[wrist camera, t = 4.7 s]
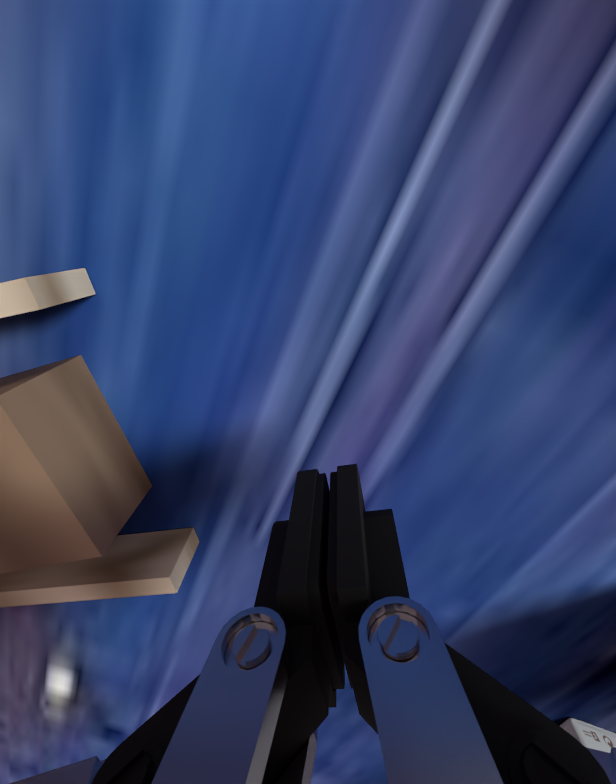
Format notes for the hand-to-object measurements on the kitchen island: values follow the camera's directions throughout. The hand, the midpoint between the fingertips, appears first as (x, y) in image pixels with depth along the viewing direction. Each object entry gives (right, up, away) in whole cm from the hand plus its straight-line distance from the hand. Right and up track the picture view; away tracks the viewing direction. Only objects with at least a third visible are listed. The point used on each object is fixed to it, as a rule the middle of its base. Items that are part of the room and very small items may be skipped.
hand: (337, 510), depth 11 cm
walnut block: (-13, +1, +7) cm, 15 cm away
